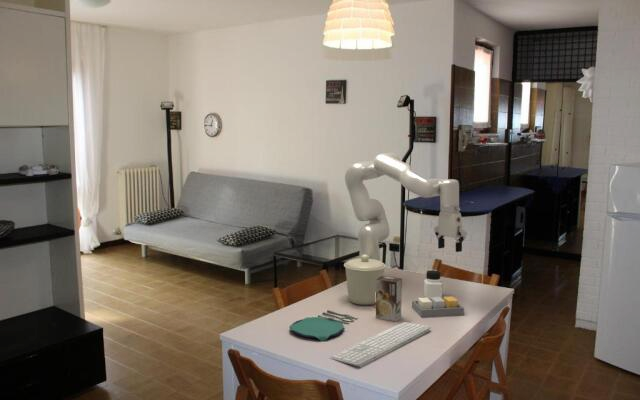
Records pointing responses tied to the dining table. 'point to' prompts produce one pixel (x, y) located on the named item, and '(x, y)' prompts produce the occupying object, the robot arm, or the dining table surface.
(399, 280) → the coffee box
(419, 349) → the dining table surface
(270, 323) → the dining table surface
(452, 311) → the keypad frame
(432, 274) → the medicine bottle
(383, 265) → the canister
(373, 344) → the keyboard
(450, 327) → the dining table surface
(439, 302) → the key grey
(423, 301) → the key cream
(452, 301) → the yellow rectangular block
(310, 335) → the cutlery set
